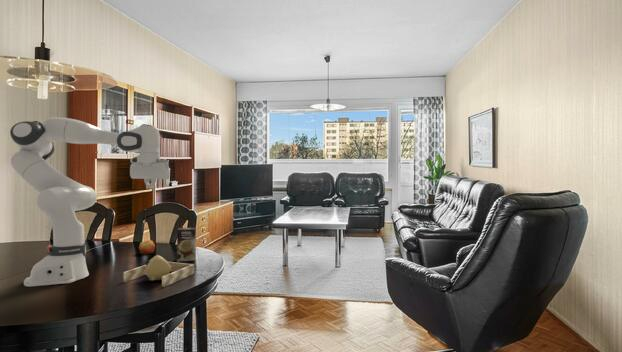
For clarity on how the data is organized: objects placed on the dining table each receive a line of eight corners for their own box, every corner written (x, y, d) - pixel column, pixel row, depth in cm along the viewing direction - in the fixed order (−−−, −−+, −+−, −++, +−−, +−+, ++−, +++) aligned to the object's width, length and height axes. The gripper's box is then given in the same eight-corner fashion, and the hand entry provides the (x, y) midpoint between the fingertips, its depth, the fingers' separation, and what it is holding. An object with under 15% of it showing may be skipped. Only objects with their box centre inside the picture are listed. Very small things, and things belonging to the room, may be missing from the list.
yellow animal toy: (166, 274, 162) (166, 250, 162) (173, 281, 152) (173, 256, 152) (142, 278, 156) (142, 253, 156) (147, 285, 146) (147, 259, 146)
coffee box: (176, 261, 183) (176, 229, 183) (177, 258, 190) (177, 227, 189) (195, 260, 186) (195, 229, 185) (196, 257, 192) (196, 226, 192)
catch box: (164, 287, 145) (163, 277, 145) (123, 281, 151) (123, 272, 151) (194, 273, 164) (194, 264, 164) (157, 269, 170) (157, 260, 170)
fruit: (158, 248, 207) (155, 237, 202) (154, 258, 200) (150, 247, 196) (144, 248, 206) (141, 237, 202) (139, 258, 200) (135, 247, 195)
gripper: (172, 159, 172) (173, 188, 173) (137, 159, 179) (137, 187, 179) (163, 159, 166) (163, 189, 167) (127, 159, 173) (127, 188, 173)
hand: (150, 188), depth 173 cm, fingers closed
